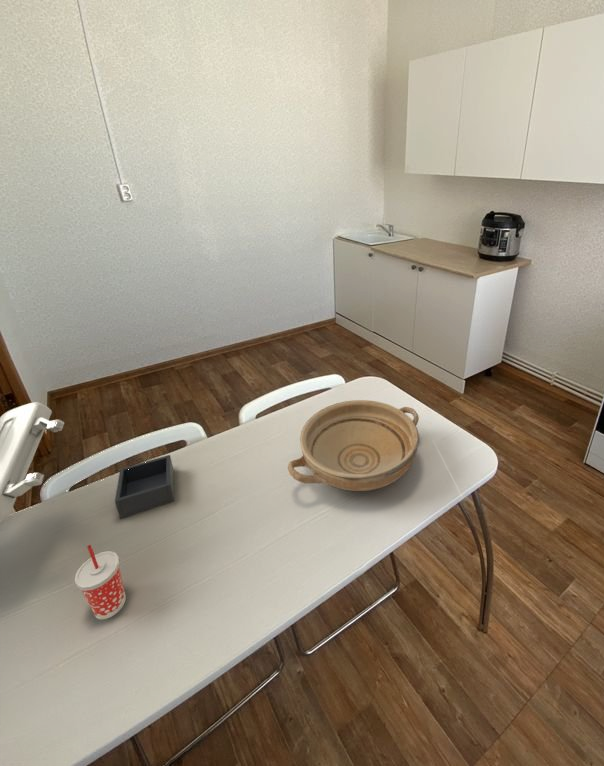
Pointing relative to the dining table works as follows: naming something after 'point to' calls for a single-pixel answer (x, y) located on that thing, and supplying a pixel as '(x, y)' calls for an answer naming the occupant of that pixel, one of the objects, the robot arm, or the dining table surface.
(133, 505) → the case
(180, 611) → the dining table surface
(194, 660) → the dining table surface
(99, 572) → the beverage cup
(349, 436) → the ceramic bowl
